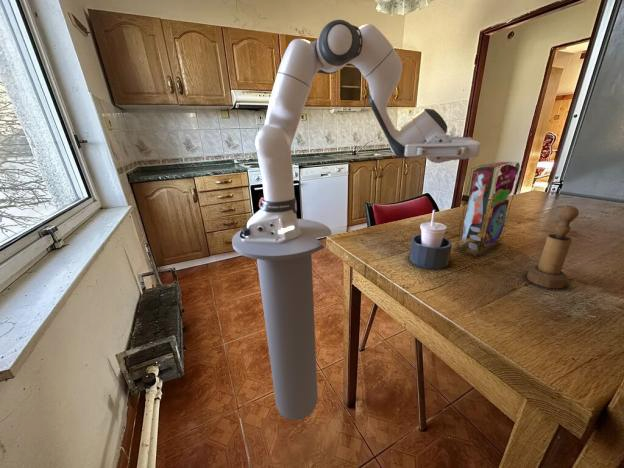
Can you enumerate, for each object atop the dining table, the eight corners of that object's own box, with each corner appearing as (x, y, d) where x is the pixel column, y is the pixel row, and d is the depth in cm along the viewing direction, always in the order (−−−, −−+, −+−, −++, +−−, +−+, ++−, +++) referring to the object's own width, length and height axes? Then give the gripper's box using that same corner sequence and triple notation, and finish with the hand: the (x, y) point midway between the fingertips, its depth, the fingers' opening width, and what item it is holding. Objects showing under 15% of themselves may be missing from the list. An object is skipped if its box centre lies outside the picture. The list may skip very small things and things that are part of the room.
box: (492, 231, 89) (509, 158, 80) (513, 236, 84) (533, 159, 75) (454, 251, 76) (470, 166, 67) (477, 258, 71) (497, 168, 62)
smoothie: (411, 255, 73) (417, 208, 68) (429, 251, 75) (436, 205, 70) (427, 265, 67) (435, 214, 62) (447, 261, 69) (455, 211, 64)
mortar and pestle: (540, 272, 63) (564, 201, 57) (571, 286, 57) (602, 208, 51) (519, 276, 62) (541, 204, 55) (549, 291, 56) (577, 212, 49)
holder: (417, 269, 67) (419, 248, 64) (404, 253, 76) (406, 234, 74) (455, 268, 67) (459, 247, 64) (438, 252, 76) (441, 233, 73)
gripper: (406, 139, 86) (403, 140, 74) (477, 137, 78) (486, 138, 66) (404, 158, 88) (401, 163, 76) (473, 158, 80) (481, 163, 69)
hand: (441, 151), depth 71 cm, fingers open, 8 cm apart
